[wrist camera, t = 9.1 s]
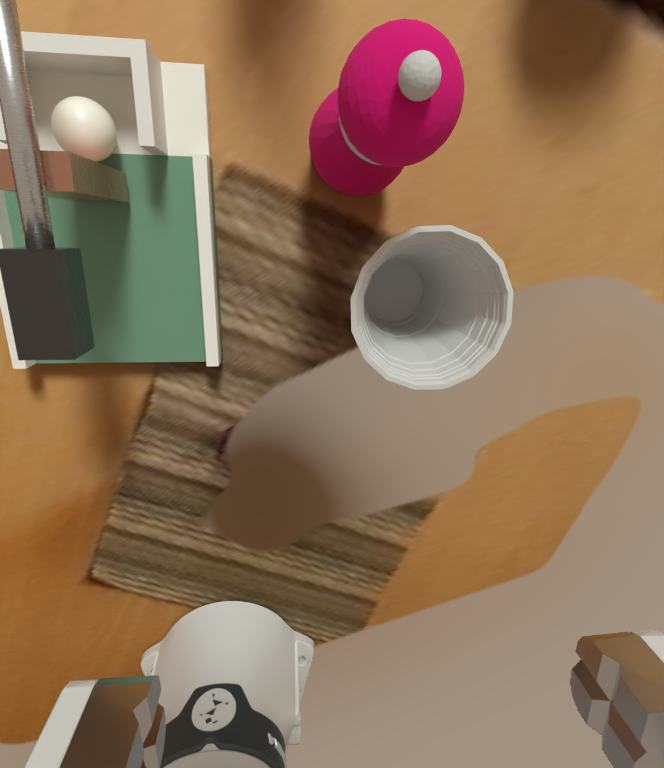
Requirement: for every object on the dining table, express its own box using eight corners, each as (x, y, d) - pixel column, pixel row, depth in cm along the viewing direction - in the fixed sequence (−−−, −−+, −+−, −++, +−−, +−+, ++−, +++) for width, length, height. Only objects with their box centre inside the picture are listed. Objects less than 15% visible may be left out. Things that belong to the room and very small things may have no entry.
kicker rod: (141, 321, 37) (84, 359, 26) (90, 321, 37) (8, 360, 26) (104, -22, 30) (3, -170, 19) (39, -27, 30) (-103, -181, 19)
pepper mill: (345, 218, 39) (409, 206, 20) (287, 145, 36) (297, 53, 18) (412, 157, 38) (545, 84, 19) (356, 78, 36) (445, -94, 17)
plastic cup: (374, 200, 38) (414, 187, 27) (473, 269, 41) (547, 283, 30) (307, 311, 41) (319, 341, 29) (405, 369, 44) (450, 418, 32)
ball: (101, 90, 29) (121, 105, 33) (34, 86, 29) (62, 103, 33) (109, 159, 31) (127, 167, 34) (45, 157, 30) (71, 165, 34)
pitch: (222, 356, 41) (214, 375, 36) (32, 358, 39) (-5, 378, 34) (207, 71, 34) (194, 42, 29) (-25, 57, 33) (-83, 24, 27)
